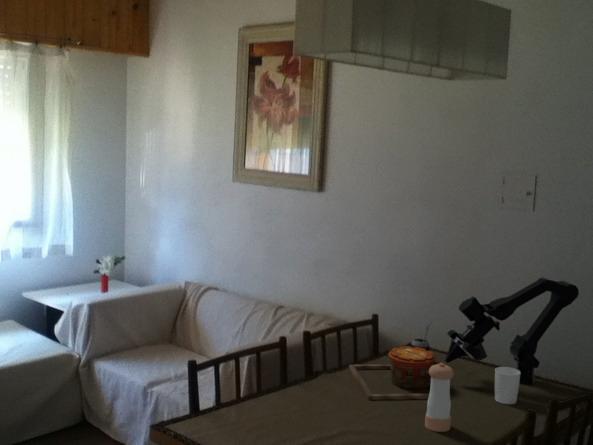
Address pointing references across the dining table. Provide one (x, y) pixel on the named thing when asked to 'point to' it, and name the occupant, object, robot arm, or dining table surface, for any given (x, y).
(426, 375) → the food container
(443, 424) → the pepper shaker
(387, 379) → the dining table surface
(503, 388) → the white cup
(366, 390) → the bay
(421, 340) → the mate gourd
